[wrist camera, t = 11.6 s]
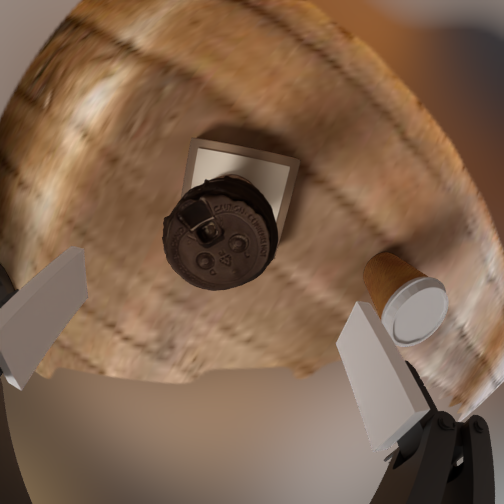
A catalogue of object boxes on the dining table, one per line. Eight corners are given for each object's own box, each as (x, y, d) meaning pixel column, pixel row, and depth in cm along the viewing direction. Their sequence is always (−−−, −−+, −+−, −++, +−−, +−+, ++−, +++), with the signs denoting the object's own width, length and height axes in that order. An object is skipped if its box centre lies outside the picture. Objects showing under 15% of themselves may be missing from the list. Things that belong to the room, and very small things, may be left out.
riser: (181, 231, 34) (175, 240, 31) (196, 137, 30) (190, 137, 27) (272, 249, 36) (274, 260, 33) (296, 158, 31) (301, 160, 28)
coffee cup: (197, 156, 28) (160, 171, 16) (274, 167, 28) (294, 190, 16) (189, 232, 31) (155, 292, 19) (260, 242, 32) (267, 309, 20)
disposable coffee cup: (341, 287, 38) (370, 342, 27) (374, 231, 35) (419, 272, 24) (386, 305, 40) (419, 354, 29) (417, 255, 36) (462, 296, 25)
